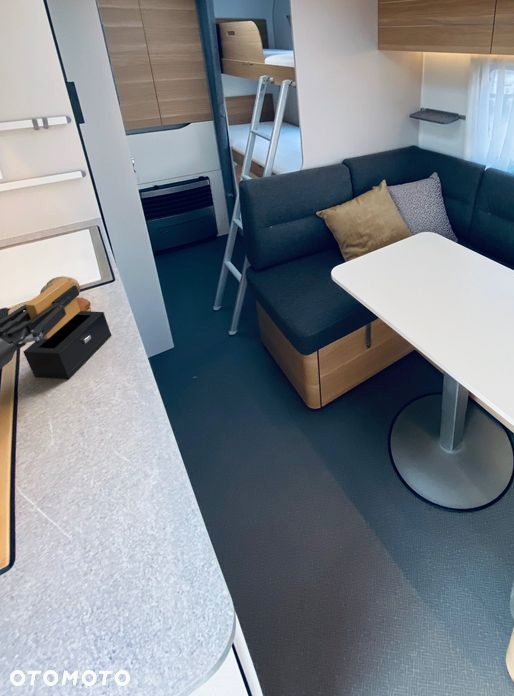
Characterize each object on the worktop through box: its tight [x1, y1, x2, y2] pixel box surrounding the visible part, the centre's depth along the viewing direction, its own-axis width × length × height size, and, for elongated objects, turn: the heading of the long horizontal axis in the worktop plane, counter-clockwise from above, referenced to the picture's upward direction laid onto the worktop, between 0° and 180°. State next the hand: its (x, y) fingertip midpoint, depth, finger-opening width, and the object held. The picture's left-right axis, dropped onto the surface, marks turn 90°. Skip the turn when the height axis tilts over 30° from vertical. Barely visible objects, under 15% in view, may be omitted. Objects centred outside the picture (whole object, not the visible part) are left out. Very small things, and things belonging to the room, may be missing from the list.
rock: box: [39, 276, 81, 295], centre depth 128 cm, size 10×10×8 cm
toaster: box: [22, 310, 112, 380], centre depth 103 cm, size 10×15×8 cm, turn 175°
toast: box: [24, 279, 80, 339], centre depth 96 cm, size 2×10×10 cm, turn 175°
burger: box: [76, 296, 92, 311], centre depth 118 cm, size 10×9×5 cm
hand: (70, 289), depth 101 cm, fingers closed on toast, 2 cm apart
